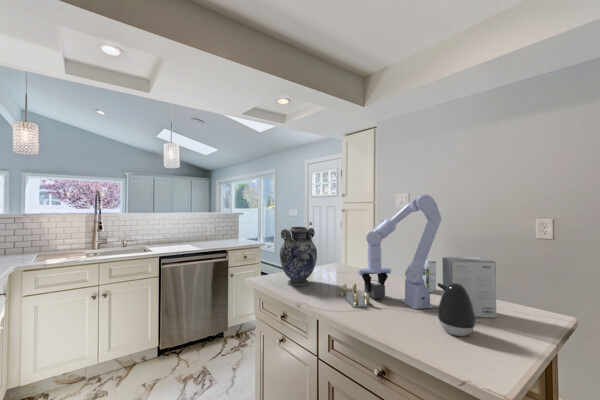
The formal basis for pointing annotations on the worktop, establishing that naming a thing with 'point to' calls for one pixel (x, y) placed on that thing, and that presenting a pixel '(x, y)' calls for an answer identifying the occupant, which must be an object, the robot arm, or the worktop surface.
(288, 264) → the decorative vase
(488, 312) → the hard drive box
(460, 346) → the worktop surface
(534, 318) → the worktop surface
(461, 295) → the pump dispenser
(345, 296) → the brass peg board
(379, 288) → the block
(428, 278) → the syrup box
